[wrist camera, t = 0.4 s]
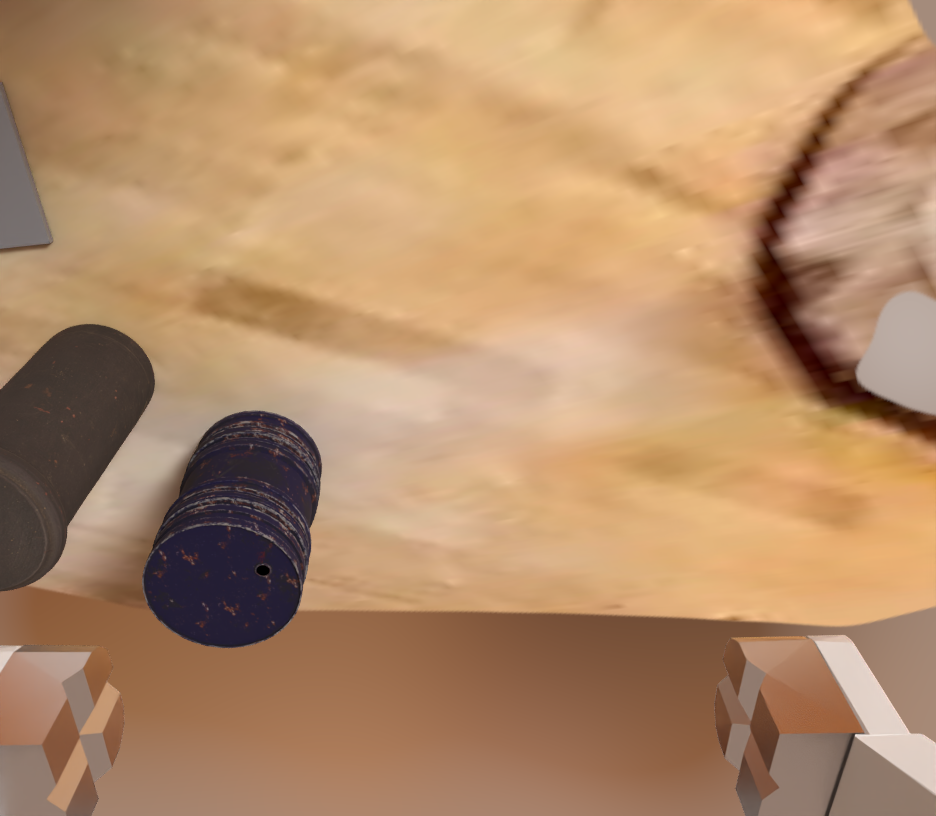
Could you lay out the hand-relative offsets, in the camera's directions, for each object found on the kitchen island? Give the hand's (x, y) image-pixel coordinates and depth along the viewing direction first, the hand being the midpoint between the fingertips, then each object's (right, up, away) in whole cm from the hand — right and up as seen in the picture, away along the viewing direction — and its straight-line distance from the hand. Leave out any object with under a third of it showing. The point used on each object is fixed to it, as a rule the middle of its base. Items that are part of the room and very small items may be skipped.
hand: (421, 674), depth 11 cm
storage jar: (-16, -1, +53) cm, 55 cm away
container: (-26, +6, +49) cm, 56 cm away
